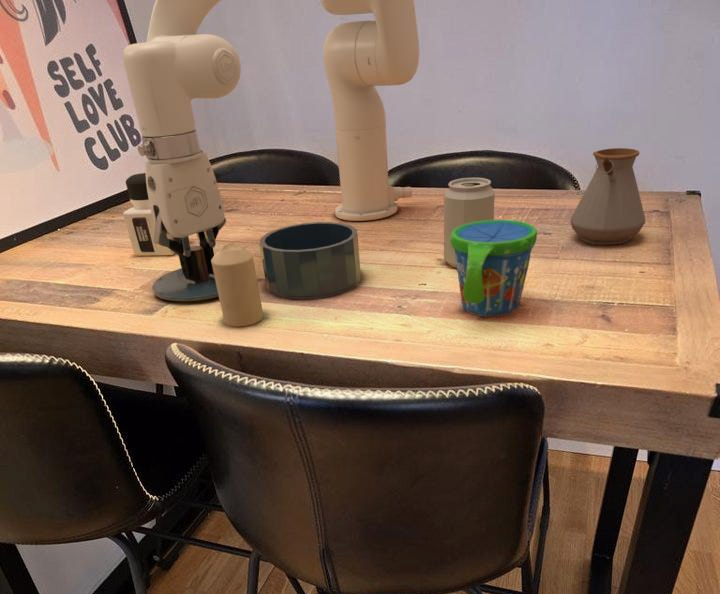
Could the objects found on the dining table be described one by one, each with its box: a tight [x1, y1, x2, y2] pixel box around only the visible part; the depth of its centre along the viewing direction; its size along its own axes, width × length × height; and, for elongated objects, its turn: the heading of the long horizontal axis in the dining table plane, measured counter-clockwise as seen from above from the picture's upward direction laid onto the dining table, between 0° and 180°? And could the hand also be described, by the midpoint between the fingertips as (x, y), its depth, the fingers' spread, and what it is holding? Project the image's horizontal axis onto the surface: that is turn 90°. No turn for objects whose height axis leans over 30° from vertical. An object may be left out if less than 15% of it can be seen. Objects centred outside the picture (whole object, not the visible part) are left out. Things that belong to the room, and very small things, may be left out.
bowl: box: [258, 221, 362, 301], centre depth 98 cm, size 15×15×7 cm
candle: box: [211, 242, 264, 327], centre depth 87 cm, size 6×6×10 cm
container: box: [122, 172, 175, 257], centre depth 117 cm, size 8×8×13 cm
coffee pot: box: [570, 147, 646, 246], centre depth 99 cm, size 21×12×15 cm, turn 156°
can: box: [443, 177, 496, 269], centre depth 99 cm, size 8×8×12 cm
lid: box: [151, 245, 219, 302], centre depth 101 cm, size 16×16×6 cm
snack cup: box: [450, 219, 538, 318], centre depth 84 cm, size 16×10×10 cm
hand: (201, 275), depth 102 cm, fingers closed on lid, 2 cm apart
